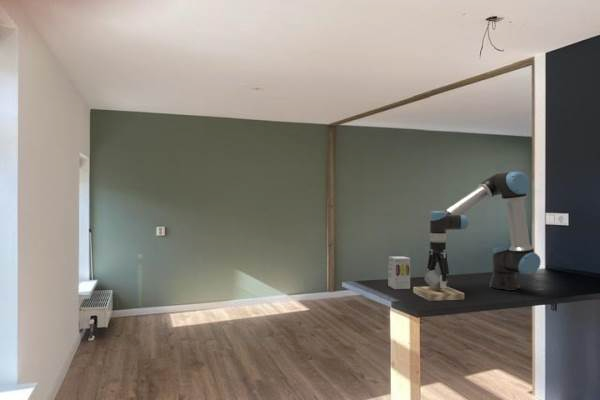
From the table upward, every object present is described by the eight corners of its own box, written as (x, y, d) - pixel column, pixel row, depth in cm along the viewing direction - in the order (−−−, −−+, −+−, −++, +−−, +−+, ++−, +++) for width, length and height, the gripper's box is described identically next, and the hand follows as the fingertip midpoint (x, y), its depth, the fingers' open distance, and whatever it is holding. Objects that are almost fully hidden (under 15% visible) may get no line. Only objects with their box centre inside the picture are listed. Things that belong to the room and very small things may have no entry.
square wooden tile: (445, 291, 219) (445, 285, 219) (464, 299, 201) (464, 293, 201) (413, 292, 216) (413, 286, 216) (429, 300, 198) (429, 294, 198)
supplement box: (394, 289, 224) (394, 258, 224) (387, 286, 233) (387, 256, 233) (410, 288, 226) (410, 257, 226) (403, 285, 235) (403, 255, 235)
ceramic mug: (434, 294, 206) (435, 283, 201) (423, 283, 212) (424, 273, 207) (451, 285, 209) (452, 275, 204) (440, 274, 215) (441, 264, 210)
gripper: (420, 239, 219) (420, 281, 219) (442, 243, 197) (441, 290, 196) (433, 239, 220) (433, 281, 220) (456, 243, 198) (456, 290, 198)
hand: (437, 285), depth 208 cm, fingers closed on ceramic mug, 10 cm apart
